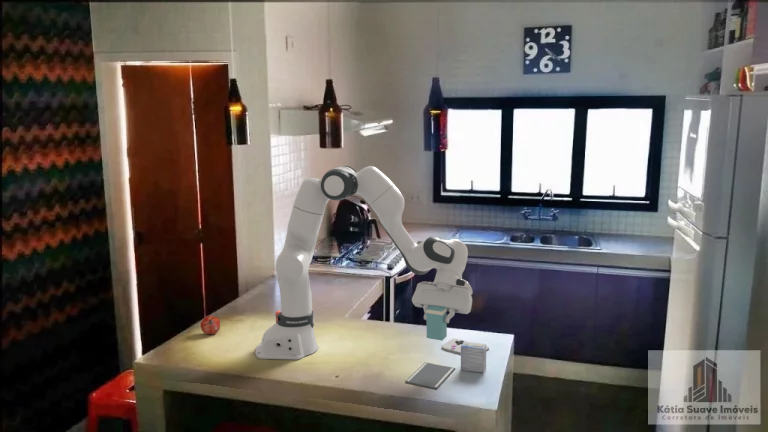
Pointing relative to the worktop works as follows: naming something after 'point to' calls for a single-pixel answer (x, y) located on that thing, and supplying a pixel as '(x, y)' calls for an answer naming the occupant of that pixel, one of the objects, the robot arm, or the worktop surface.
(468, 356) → the medicine box
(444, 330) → the tea box
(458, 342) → the handheld gaming console
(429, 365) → the mat
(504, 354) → the worktop surface
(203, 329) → the orange pumpkin
